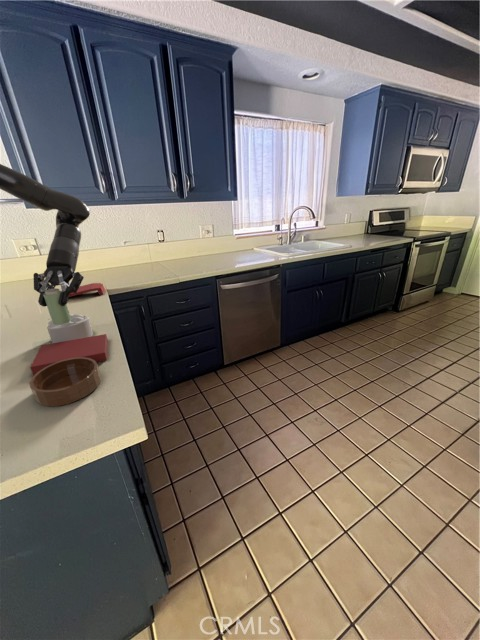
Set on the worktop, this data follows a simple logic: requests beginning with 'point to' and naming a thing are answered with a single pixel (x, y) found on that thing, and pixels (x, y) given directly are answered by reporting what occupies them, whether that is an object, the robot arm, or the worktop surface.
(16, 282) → the worktop surface
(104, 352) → the book
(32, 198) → the robot arm
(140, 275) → the worktop surface
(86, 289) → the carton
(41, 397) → the bowl
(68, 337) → the lumpy-topped squat cylinder
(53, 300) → the pepper shaker
